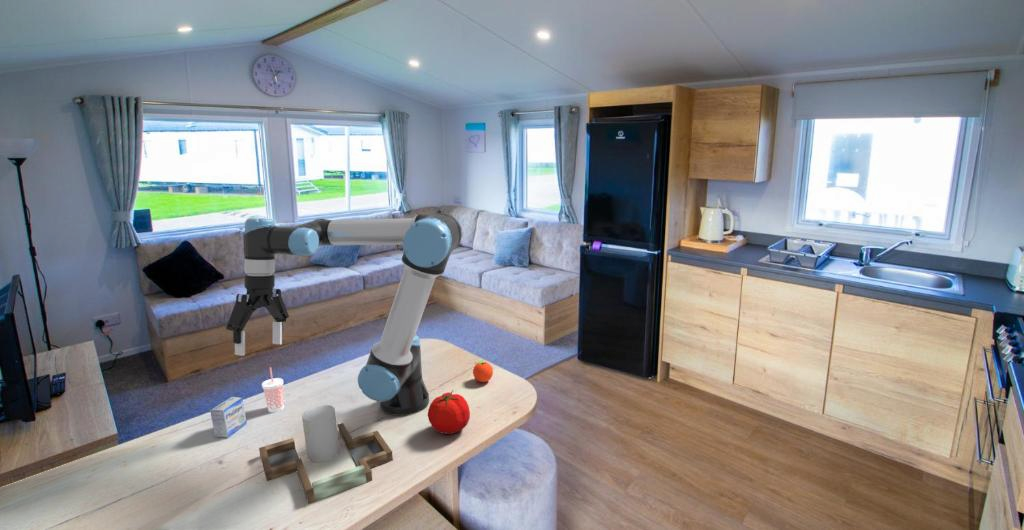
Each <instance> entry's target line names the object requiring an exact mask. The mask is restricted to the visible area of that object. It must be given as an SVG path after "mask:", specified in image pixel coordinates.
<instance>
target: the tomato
mask: <svg viewBox="0 0 1024 530" xmlns="http://www.w3.org/2000/svg"><path fill="white" fill-rule="evenodd" d="M453 392H454V390H452V391H451V392H443V394H442V395H438V396H437V397H435V398H434V399H433V400H432V401H431V403H430V404H429V408H428V410H427V417H428V421H429V423H430V425H431V427H432V428H433V429H434V430H435V431H436V432H438V433H441V434H446V435H451V434H455V433H457V432H459V431H461V430H463V429H465V427H466V426H467V425H468V423H469V421H470V419H471V417H470V416H471V411H470V406H469V404H468V402H467V399H465V397H463V395H461V394H458V393H455V394H454V393H453Z"/></svg>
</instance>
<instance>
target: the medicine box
mask: <svg viewBox="0 0 1024 530" xmlns="http://www.w3.org/2000/svg"><path fill="white" fill-rule="evenodd" d="M209 412H210V417H211V421H212V427H213V433H214V437H218V438H226V437H227V438H230V437H231V436H232V435H233V434H235V433H236V432H237V431H239V430H240V429H242V428H243V427H244V426H245V425H247V419H246V411H245V404H244V399H243V398H242V397H238V396H237V397H236V396H229V397H228V398H227V399H225V400H223V401H222V402H220V403H219V404H217V405H216V406H214V407H213V408H211V409H210V410H209Z"/></svg>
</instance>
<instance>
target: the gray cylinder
mask: <svg viewBox="0 0 1024 530" xmlns="http://www.w3.org/2000/svg"><path fill="white" fill-rule="evenodd" d="M301 417H302V418H301V419H302V420H301V421H302V427H303V434H304V443H305V451H306V459H307V460H308V459H309V460H308V461H309V462H311V461H313V462H312V463H323V462H328V461H330V460H332V459H334V458H336V457H337V455H338V454H339V453H340V443H339V435H338V434H339V432H338V423H337V417H336V409H335V407H334V406H333V405H329V404H321V405H314V406H312V407H310V408H308V409H306V410H305V411H303V412H302V414H301Z"/></svg>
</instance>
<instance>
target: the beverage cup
mask: <svg viewBox="0 0 1024 530" xmlns="http://www.w3.org/2000/svg"><path fill="white" fill-rule="evenodd" d="M269 373H270V379H267V380H264V381H262V383H261V387H262V389H263V393H264V397H265V402H266V403H265V404H266V407H267V410H268V412H270V413H278V412H281V411H282V410H283V409H285V401H284V399H285V397H284V379H283V378H281V377H275V378H274V376H273V370H272V367H271V366H270V367H269ZM280 410H281V411H280Z"/></svg>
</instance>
